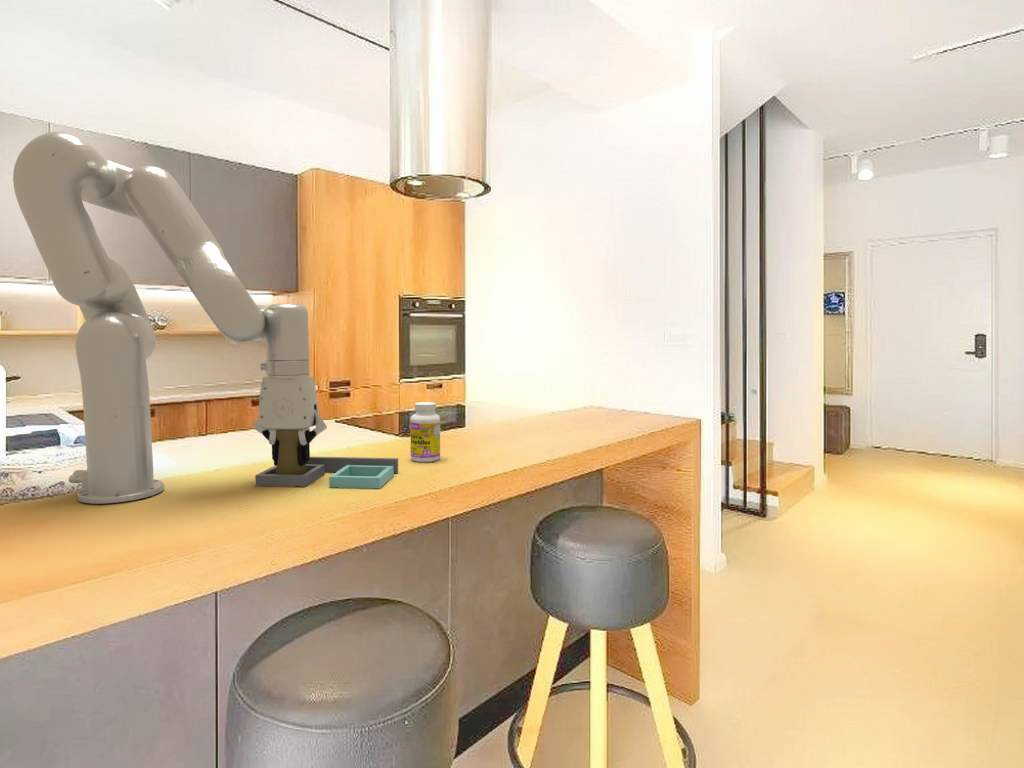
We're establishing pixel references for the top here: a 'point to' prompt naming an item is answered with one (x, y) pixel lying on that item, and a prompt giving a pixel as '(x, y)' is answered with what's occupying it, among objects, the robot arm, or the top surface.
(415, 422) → the supplement bottle
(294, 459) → the cork
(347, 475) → the panel
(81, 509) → the top surface
